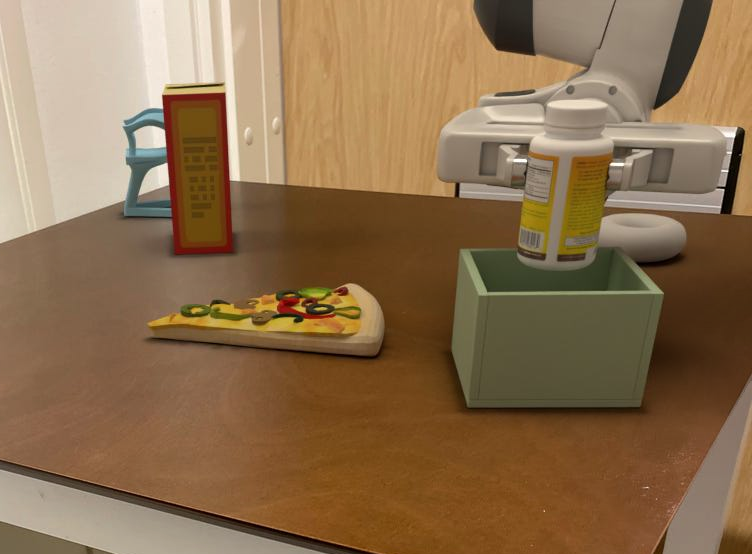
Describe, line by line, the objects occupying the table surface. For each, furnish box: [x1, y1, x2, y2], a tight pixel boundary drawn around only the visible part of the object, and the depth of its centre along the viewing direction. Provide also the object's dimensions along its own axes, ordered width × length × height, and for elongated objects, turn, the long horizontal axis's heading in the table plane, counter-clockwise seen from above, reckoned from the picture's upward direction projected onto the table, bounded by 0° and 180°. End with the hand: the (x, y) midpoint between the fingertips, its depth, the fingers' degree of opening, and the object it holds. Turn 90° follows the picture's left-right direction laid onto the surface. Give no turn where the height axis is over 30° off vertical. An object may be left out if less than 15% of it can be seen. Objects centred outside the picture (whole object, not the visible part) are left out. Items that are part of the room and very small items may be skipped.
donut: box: [597, 212, 688, 264], centre depth 103 cm, size 10×3×10 cm
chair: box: [122, 107, 172, 218], centre depth 122 cm, size 8×8×12 cm
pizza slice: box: [146, 282, 386, 357], centre depth 85 cm, size 16×21×3 cm
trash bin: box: [451, 247, 665, 409], centre depth 73 cm, size 12×12×8 cm
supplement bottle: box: [517, 100, 614, 271], centre depth 67 cm, size 6×6×10 cm
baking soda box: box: [161, 81, 234, 255], centre depth 107 cm, size 10×6×16 cm
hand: (565, 175), depth 66 cm, fingers closed on supplement bottle, 5 cm apart
